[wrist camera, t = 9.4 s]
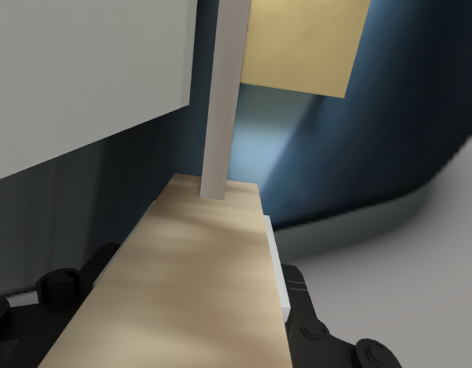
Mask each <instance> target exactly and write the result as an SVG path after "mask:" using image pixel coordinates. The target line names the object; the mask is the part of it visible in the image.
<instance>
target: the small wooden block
mask: <svg viewBox="0 0 472 368" xmlns="http://www.w3.org/2000/svg"><path fill="white" fill-rule="evenodd" d="M370 1H371V0H251V4H250V11H249V19H248V26H247V33H246V41H245V48H244V55H243V63H242V70H241V77H240V83H244V84H250V85H257V86H264V87H270V88H277V89H283V90H290V91H297V92H303V93H310V94H316V95H323V96H331V97H339V98H344V96H345V92H346V89H347V85H348V81H349V78H350V74H351V71H352V67H353V63H354V60H355V56H356V52H357V49H358V45H359V41H360V38H361V34H362V30H363V27H364V23H365V19H366V16H367V12H368V9H369V5H370Z"/></svg>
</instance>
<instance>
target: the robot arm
mask: <svg viewBox="0 0 472 368" xmlns="http://www.w3.org/2000/svg"><path fill="white" fill-rule="evenodd" d="M155 201H156V200H154V201H153V202H152V204H151V205H150V206H149V208H148V209H147V211H146V212H145V213H144V215H143V216H142V217H141V219H140V220H139V222H138V223H137V224H136V226H135V227H134V228H133V230H132V231H131V232H130V234H129V235H128V237H127V238H126V239H125V241H124V242H123V243H122V244H115V243H107V244H106V245H104V246H102V247H100V248H99V249H98V250H97V251H96V252H95V253H94V254H93V256H92V257H91V258H90V259H89V260H88V261H87V263H86V265H84V266H83V267H82V268H81V270H80V271H79V270H77V269H72V268H65V269H58V270H55V271H52V272H49V273H48V274H46V275H44V276H43V277H41V278H40V279H39V280H38V281H37V282H36V288H37V295H38V301H39V303H37V304H32V305H25V306H17V307H10V305H9V302H8V301H7V299H6V298H2V297H0V368H38V366H39V365H40V363H41V362H42V361H43V359H44V358H45V356H46V355H47V354H48V352H49V351H50V349H51V348H52V346H53V345H54V344H55V342H56V341H57V339H58V338H59V337H60V335H61V334H62V332H63V331H64V329H65V328H66V327H67V325H68V324H69V322H70V321H71V320H72V318H73V317H74V315H75V314H76V313H77V311H78V310H79V308H80V307H81V305H82V304H83V303H84V301H85V300H86V298H87V297H88V296H89V294H90V293H91V291H92V290H93V288H94V287H95V286H96V284H97V283H98V281H99V280H100V279H101V277H102V276H103V274H104V273H105V271H106V270H107V269H108V267H109V266H110V264H111V263H112V262H113V260H114V259H115V257H116V256H117V255H118V253H119V252H120V250H121V249H122V247H123V246H124V245H125V243H126V242H127V240H128V239H129V238H130V236H131V235H132V233H133V232H134V230H135V229H136V228H137V226H138V225H139V223H140V222H141V221H142V219H143V218H144V216H145V215H146V213H147V212H148V211H149V209H150V208H151V206H152V205H153V204H154V202H155ZM263 216H264V222H265V227H266V232H267V237H268V242H269V247H270V253H271V258H272V263H273V268H274V273H275V278H276V284H277V289H278V294H279V299H280V304H281V309H282V315H283V320H284V325H285V330H286V335H287V340H288V346H289V351H290V356H291V361H292V366H293V368H402V367H401V365H400V363H399V362H398V360H397V358H396V357H395V356H394V355H393V353H392V352H391V351H390V350H389V349H388V348H387V347H385V346H384V345H383V344H381V343H379V342H377V341H375V340H372V339H361V340H359V341H358V342H357V344H356V346H355V345H352V344H350V343H347V342H345V341H342V340H340V339H338V338H336V337H334V336H332V335H331V334H330V333H329V330H328V329H327V327H326V326H325V324H323V323H322V322H320V320H318V319H317V316H316V313H315V310H314V307H313V304H312V301H311V298H310V296H309V293H308V291H307V287H306V284H305V281H304V278H303V275H302V273H301V272H300V271H299V270H298V268H297V267H296V266H293V265H285V264H280V260H279V256H278V252H277V248H276V243H275V239H274V235H273V231H272V226H271V222H270V218H269V216H266V215H263Z"/></svg>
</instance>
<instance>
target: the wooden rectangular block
mask: <svg viewBox="0 0 472 368" xmlns="http://www.w3.org/2000/svg"><path fill="white" fill-rule="evenodd" d="M250 4H251V0H219V9H218V19H217V29H216V39H215V49H214V59H213V69H212V79H211V89H210V99H209V110H208V120H207V130H206V140H205V150H204V160H203V170H202V177H201V176H194V175H186V174H179V173H175V174H174V175H173V177H172V178H171V180H170V181H169V182H168V184H167V185H166V187H165V188H164V189H163V191H162V192H161V194H160V195H159V196H158V198H157V199H156V201H155V202H154V204H153V205H152V206H151V208H150V209H149V211H148V212H147V213H146V215H145V216H144V218H143V219H142V221H141V222H140V223H139V225H138V226H137V228H136V229H135V230H134V232H133V233H132V235H131V236H130V238H129V239H128V240H127V242H126V243H125V245H124V246H123V247H122V249H121V250H120V252H119V253H118V255H117V256H116V257H115V259H114V260H113V262H112V263H111V264H110V266H109V267H108V269H107V270H106V271H105V273H104V274H103V276H102V277H101V279H100V280H99V281H98V283H97V284H96V286H95V287H94V288H93V290H92V291H91V293H90V294H89V296H88V297H87V298H86V300H85V301H84V303H83V304H82V305H81V307H80V308H79V310H78V311H77V313H76V314H75V315H74V317H73V318H72V320H71V321H70V322H69V324H68V325H67V327H66V328H65V329H64V331H63V332H62V334H61V335H60V337H59V338H58V339H57V341H56V342H55V344H54V345H53V346H52V348H51V349H50V351H49V352H48V354H47V355H46V356H45V358H44V359H43V361H42V362H41V363H40V365H39V366H38V368H293V366H292V361H291V356H290V351H289V346H288V340H287V335H286V330H285V325H284V320H283V315H282V309H281V304H280V299H279V294H278V289H277V284H276V278H275V273H274V268H273V263H272V258H271V253H270V247H269V242H268V237H267V232H266V227H265V222H264V216H263V211H262V206H261V201H260V196H259V191H258V185H257V184H253V183H246V182H239V181H231V180H227V173H228V166H229V158H230V151H231V144H232V136H233V129H234V122H235V114H236V107H237V100H238V92H239V85H240V77H241V70H242V63H243V55H244V48H245V41H246V33H247V26H248V19H249V11H250Z"/></svg>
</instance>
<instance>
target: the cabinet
mask: <svg viewBox="0 0 472 368" xmlns="http://www.w3.org/2000/svg"><path fill="white" fill-rule="evenodd" d="M196 10H197V0H0V179H2V178H4V177H7V176H9V175H12V174H14V173H17V172H19V171H22V170H24V169H27V168H30V167H32V166H35V165H37V164H40V163H42V162H45V161H47V160H50V159H52V158H55V157H57V156H60V155H62V154H65V153H68V152H70V151H73V150H75V149H78V148H80V147H83V146H85V145H88V144H90V143H93V142H95V141H98V140H100V139H103V138H106V137H108V136H111V135H113V134H116V133H118V132H121V131H123V130H126V129H128V128H131V127H133V126H136V125H138V124H141V123H144V122H146V121H149V120H151V119H154V118H156V117H159V116H161V115H164V114H166V113H169V112H171V111H174V110H176V109H179V108H182V107H184V106H187V105H189V99H190V86H191V74H192V61H193V48H194V36H195V23H196Z"/></svg>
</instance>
